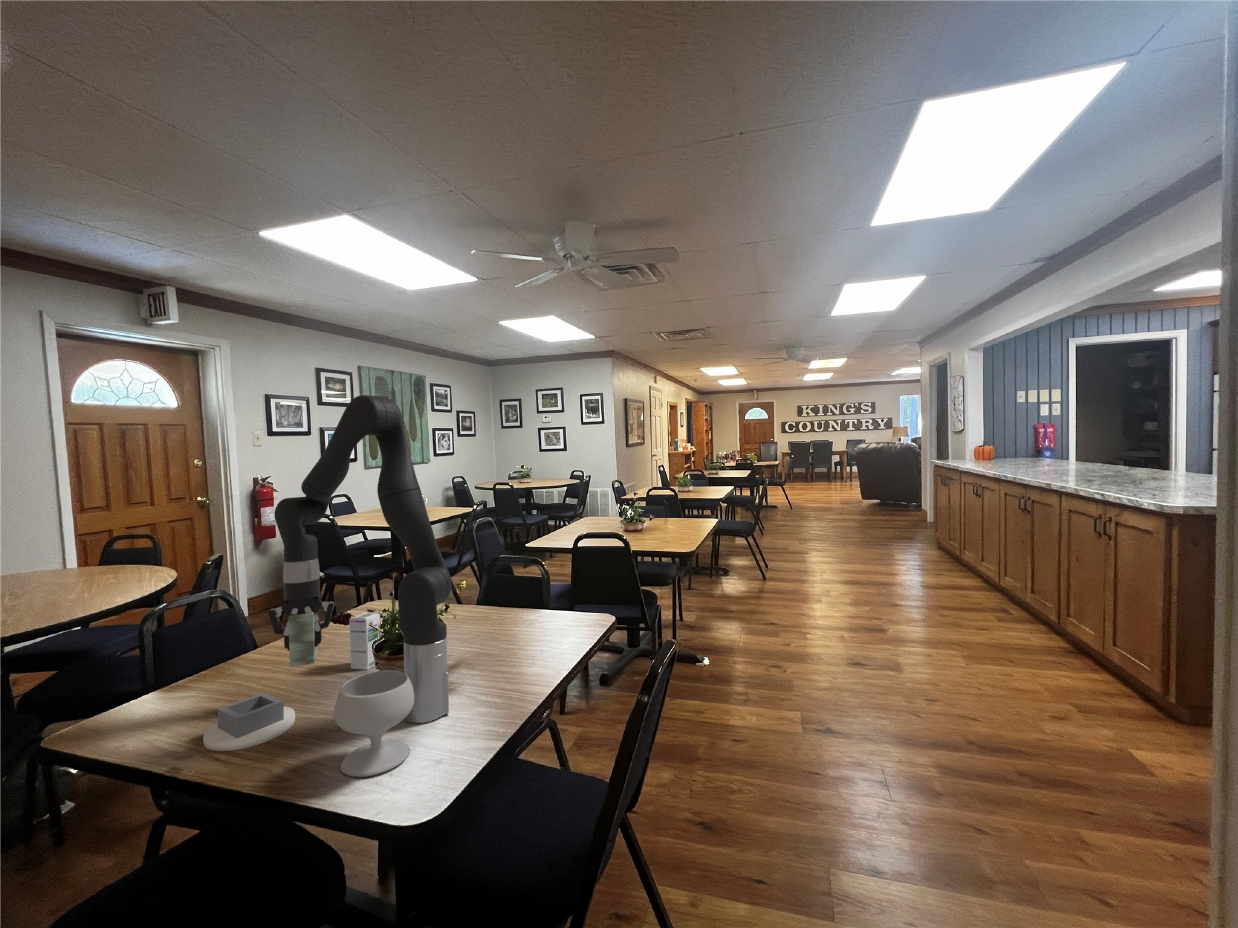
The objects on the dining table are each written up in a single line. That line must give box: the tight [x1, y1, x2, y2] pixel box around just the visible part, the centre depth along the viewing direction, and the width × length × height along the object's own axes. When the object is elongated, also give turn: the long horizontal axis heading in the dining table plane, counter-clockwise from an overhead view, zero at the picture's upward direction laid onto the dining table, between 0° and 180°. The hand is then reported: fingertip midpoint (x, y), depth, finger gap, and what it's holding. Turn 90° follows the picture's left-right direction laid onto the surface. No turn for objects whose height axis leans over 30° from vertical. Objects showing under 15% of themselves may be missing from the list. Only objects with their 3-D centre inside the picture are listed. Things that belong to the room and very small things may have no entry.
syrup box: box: [349, 611, 381, 671], centre depth 144 cm, size 6×6×14 cm
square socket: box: [202, 692, 296, 752], centre depth 109 cm, size 16×16×6 cm
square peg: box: [288, 612, 318, 668], centre depth 123 cm, size 5×5×12 cm
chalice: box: [333, 669, 414, 778], centre depth 97 cm, size 14×14×15 cm
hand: (303, 647), depth 123 cm, fingers closed on square peg, 5 cm apart
